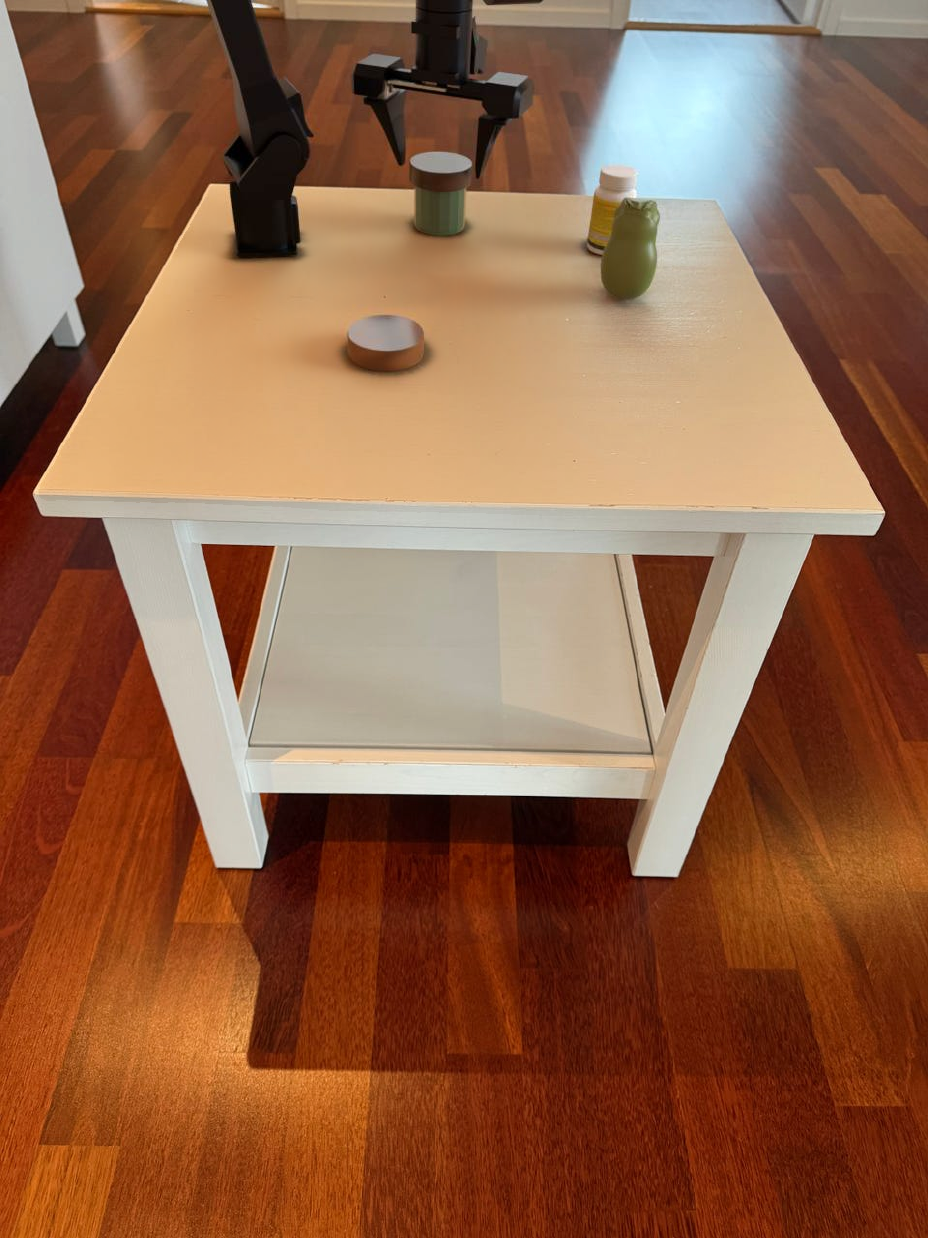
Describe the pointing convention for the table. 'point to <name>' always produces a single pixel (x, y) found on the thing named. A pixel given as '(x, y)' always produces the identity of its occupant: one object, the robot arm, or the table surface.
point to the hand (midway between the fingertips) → (439, 171)
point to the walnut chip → (440, 171)
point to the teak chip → (385, 342)
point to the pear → (631, 249)
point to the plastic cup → (439, 211)
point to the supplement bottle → (609, 202)
